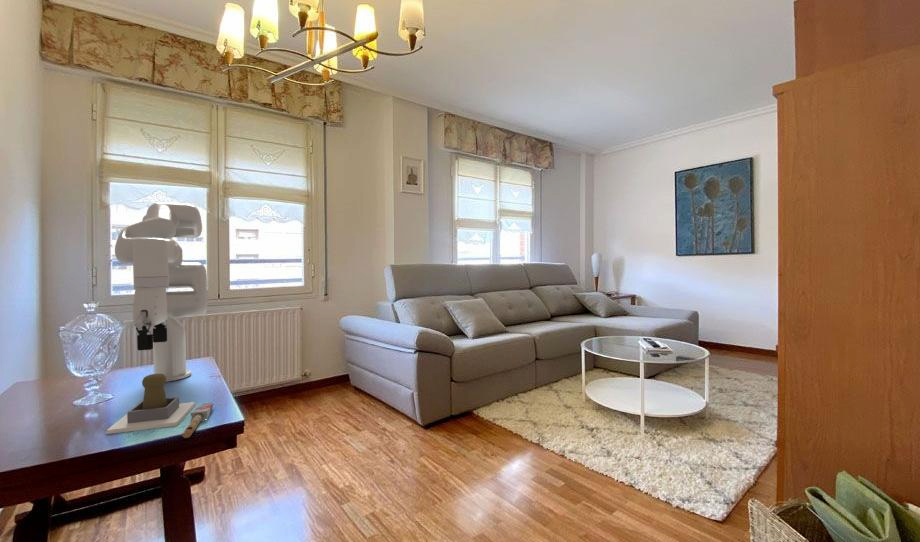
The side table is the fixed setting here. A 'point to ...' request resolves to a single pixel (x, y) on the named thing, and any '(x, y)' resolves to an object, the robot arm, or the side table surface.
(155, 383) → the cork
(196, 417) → the paintbrush
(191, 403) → the beige square socket base
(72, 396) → the side table surface
